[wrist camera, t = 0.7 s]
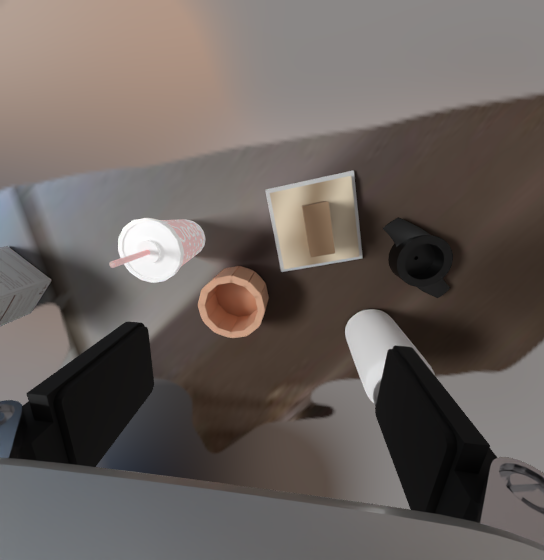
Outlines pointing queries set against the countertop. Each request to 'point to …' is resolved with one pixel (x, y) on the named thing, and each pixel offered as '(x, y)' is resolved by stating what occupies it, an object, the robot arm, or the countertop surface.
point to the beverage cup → (158, 247)
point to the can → (374, 346)
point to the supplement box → (18, 286)
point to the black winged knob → (419, 257)
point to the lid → (316, 222)
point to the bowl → (234, 302)
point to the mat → (313, 181)
